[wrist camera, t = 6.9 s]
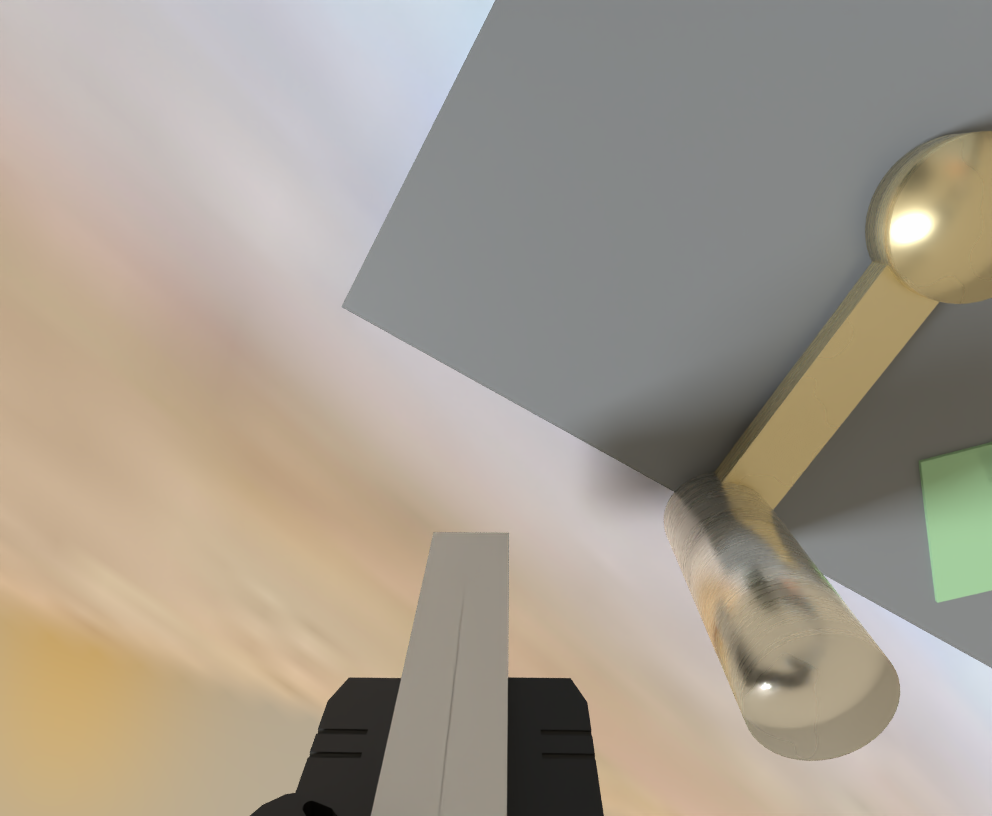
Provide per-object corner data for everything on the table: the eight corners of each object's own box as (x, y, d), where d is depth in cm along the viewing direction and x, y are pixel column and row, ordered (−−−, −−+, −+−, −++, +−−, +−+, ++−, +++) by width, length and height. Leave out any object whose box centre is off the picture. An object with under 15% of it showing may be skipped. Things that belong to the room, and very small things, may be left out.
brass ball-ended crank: (938, 101, 13) (1253, 46, 8) (1061, 186, 14) (1446, 196, 8) (629, 525, 16) (691, 710, 11) (738, 584, 17) (852, 792, 11)
